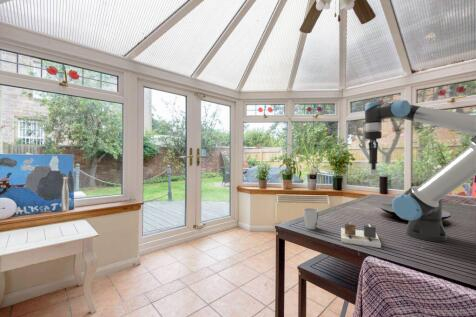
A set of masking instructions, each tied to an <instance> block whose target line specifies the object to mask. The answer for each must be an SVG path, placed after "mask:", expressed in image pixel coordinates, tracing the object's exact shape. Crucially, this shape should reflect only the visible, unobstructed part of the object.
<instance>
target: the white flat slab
mask: <svg viewBox="0 0 476 317" xmlns="http://www.w3.org/2000/svg"><path fill="white" fill-rule="evenodd" d="M340 239H341V240H340V241H341V243H344V244H345V243H346V244H351V245H359V246H364V247H365V246H366V247H372V248H377V249H378V248H379V249H382V243H381V240H380V238H379V236H378V234H377V233H376V238H370V237H364V229H363V230H361V229H360V230H359V229H356V236H355V235H348V234H345V227H340Z"/></svg>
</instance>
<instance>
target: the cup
mask: <svg viewBox="0 0 476 317" xmlns="http://www.w3.org/2000/svg"><path fill="white" fill-rule="evenodd" d="M302 214H303V219H304V224H305V228H306V229H308V230H315V229H317V226H318V221H319V209H318V208H313V207H312V208H311V207H308V208H303V212H302Z"/></svg>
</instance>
